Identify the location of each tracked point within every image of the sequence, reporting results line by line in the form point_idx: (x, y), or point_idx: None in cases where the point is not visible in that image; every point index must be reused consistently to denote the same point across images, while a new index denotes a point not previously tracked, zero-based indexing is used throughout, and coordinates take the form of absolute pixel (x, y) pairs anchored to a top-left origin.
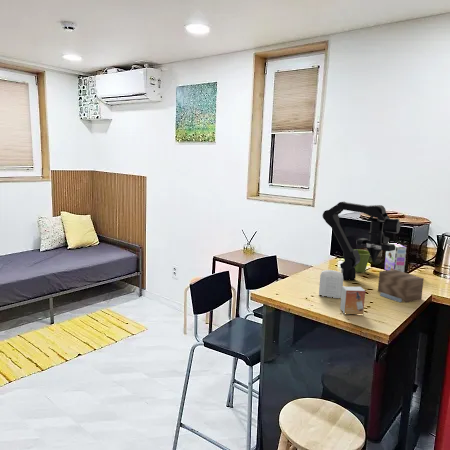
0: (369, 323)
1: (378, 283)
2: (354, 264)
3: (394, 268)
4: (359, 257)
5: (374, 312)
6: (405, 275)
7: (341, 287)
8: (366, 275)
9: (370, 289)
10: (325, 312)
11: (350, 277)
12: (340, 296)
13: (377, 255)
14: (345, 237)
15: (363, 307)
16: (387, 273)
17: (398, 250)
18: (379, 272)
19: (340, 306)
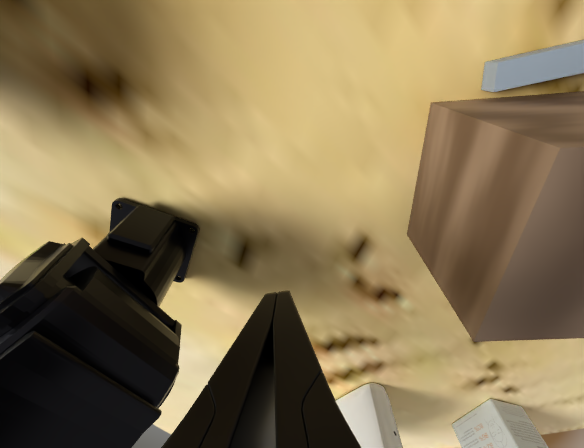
0: (561, 417)
1: (426, 265)
2: (175, 345)
3: None
4: (57, 328)
5: (537, 377)
6: None
7: (400, 440)
8: (54, 33)
9: (363, 247)
10: (436, 444)
11: (182, 258)
12: (389, 400)
13: (325, 380)
14: None
15: (539, 436)
16: (559, 325)
17: None
18: (469, 333)
19: (458, 437)
